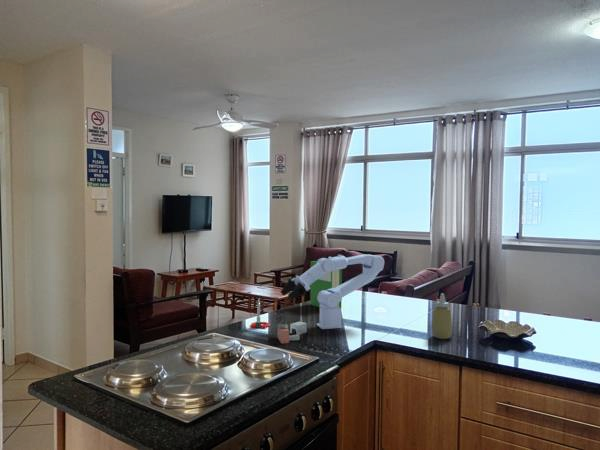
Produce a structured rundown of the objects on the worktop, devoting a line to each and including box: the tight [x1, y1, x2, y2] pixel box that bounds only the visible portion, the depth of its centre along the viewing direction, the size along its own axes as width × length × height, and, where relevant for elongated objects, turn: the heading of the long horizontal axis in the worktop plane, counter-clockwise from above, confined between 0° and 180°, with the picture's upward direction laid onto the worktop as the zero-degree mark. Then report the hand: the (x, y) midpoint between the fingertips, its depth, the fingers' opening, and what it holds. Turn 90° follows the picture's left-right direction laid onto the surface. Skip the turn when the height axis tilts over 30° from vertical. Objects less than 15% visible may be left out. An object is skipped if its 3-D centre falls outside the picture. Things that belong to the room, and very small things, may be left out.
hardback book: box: [309, 260, 343, 310], centre depth 234 cm, size 18×7×24 cm, turn 36°
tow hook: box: [250, 298, 271, 329], centre depth 193 cm, size 8×13×9 cm
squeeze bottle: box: [431, 293, 453, 340], centre depth 177 cm, size 8×8×18 cm
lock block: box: [289, 321, 308, 336], centre depth 182 cm, size 6×4×4 cm, turn 139°
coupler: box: [277, 323, 301, 344], centre depth 172 cm, size 8×8×6 cm
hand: (285, 295), depth 184 cm, fingers open, 7 cm apart
